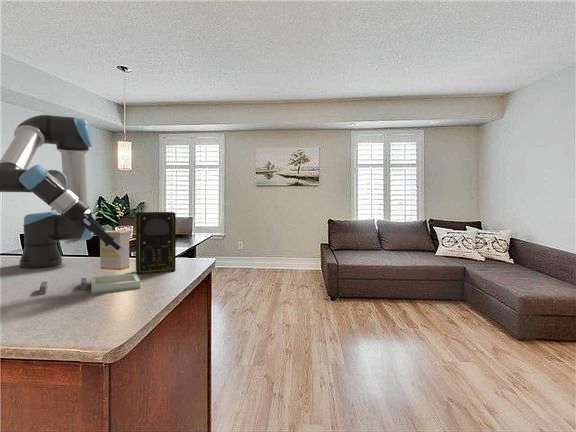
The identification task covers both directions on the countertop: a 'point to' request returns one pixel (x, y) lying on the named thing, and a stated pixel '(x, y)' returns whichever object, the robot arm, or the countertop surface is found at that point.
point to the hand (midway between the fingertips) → (125, 252)
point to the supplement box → (114, 252)
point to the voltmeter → (155, 242)
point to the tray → (114, 283)
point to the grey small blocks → (45, 286)
